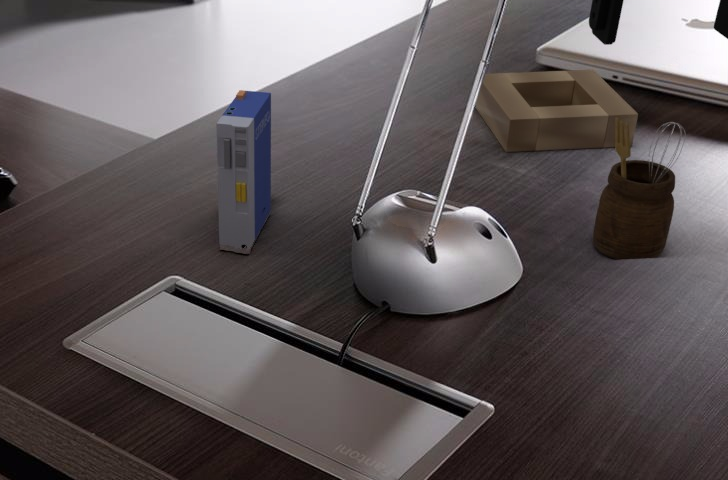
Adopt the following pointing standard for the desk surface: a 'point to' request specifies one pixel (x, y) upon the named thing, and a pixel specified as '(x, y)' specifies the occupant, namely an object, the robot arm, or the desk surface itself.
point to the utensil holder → (635, 204)
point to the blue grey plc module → (244, 168)
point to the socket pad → (552, 110)
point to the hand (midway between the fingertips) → (664, 37)
